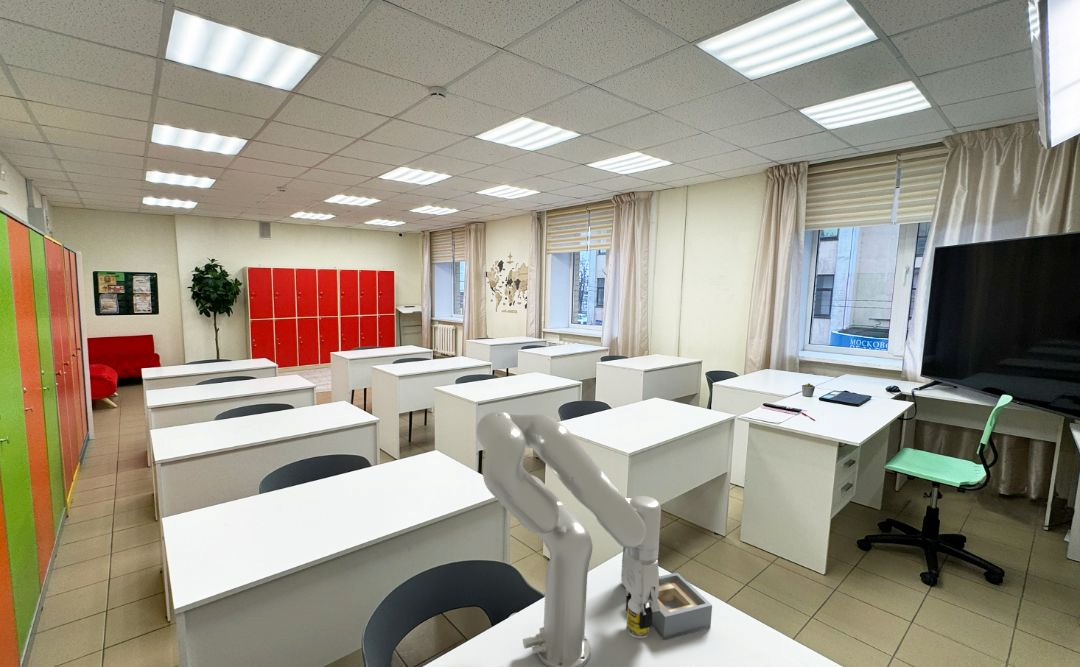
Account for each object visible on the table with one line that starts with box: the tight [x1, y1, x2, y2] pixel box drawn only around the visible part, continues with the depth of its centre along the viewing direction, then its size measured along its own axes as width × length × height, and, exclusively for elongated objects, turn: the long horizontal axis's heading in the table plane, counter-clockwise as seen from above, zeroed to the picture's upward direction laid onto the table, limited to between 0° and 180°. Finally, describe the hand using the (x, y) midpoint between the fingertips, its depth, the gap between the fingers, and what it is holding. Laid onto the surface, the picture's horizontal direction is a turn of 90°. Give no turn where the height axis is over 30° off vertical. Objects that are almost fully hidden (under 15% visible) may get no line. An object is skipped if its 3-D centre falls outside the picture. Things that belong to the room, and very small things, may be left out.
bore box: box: [651, 572, 713, 641], centre depth 120 cm, size 14×14×6 cm
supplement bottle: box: [626, 595, 650, 639], centre depth 114 cm, size 5×5×10 cm
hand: (638, 617), depth 114 cm, fingers closed on supplement bottle, 5 cm apart
